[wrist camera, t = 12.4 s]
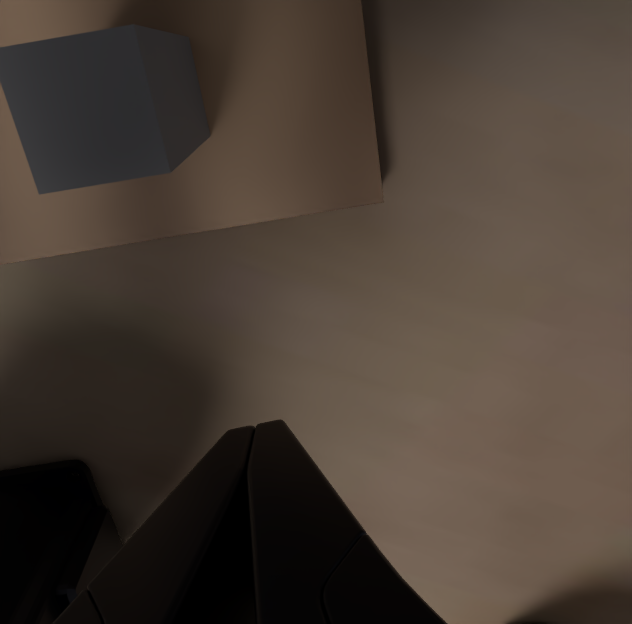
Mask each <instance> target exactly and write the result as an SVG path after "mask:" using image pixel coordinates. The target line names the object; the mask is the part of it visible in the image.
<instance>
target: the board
mask: <svg viewBox="0 0 632 624" xmlns="http://www.w3.org/2000/svg"><path fill="white" fill-rule="evenodd" d="M132 24H135V25H139V26H143V27H148V28H152V29H156V30H160V31H165V32H169V33H173V34H178V35H182V36H186V37H189V40H190V45H191V49H192V54H193V58H194V63H195V68H196V72H197V77H198V81H199V86H200V90H201V95H202V99H203V104H204V109H205V113H206V118H207V122H208V127H209V131H210V137H209V138H208V139H207V140H206V141H205V142H204V143H203V144H202V145H201V146H199V147H198V148H197V149H196V150H195V151H194V152H193V153H192V154H191V155H190V156H189V157H187V158H186V159H185V160H184V161H183V162H182V163H181V164H180V165H179V166H178V167H177V168H176V169H174V170H173V171H172V172H171V173H167V174H161V175H155V176H149V177H143V178H137V179H130V180H124V181H118V182H112V183H106V184H100V185H94V186H88V187H82V188H76V189H70V190H64V191H58V192H52V193H46V194H40V195H39V193H38V190H37V187H36V184H35V182H34V179H33V176H32V173H31V170H30V167H29V164H28V161H27V158H26V155H25V152H24V150H23V147H22V144H21V141H20V138H19V135H18V132H17V129H16V126H15V123H14V120H13V118H12V115H11V112H10V109H9V106H8V103H7V100H6V97H5V94H4V91H3V88H2V86H1V83H0V265H2V264H8V263H14V262H21V261H27V260H33V259H39V258H45V257H51V256H57V255H63V254H70V253H76V252H82V251H88V250H94V249H100V248H106V247H112V246H119V245H125V244H131V243H137V242H143V241H149V240H155V239H161V238H168V237H174V236H180V235H186V234H192V233H198V232H204V231H211V230H217V229H223V228H229V227H235V226H241V225H247V224H253V223H260V222H266V221H272V220H278V219H284V218H290V217H296V216H302V215H309V214H315V213H321V212H327V211H333V210H339V209H345V208H351V207H358V206H364V205H370V204H376V203H382V202H384V200H383V191H382V182H381V173H380V164H379V155H378V146H377V137H376V128H375V119H374V110H373V101H372V92H371V83H370V74H369V65H368V56H367V47H366V39H365V30H364V21H363V12H362V3H361V0H0V47H5V46H11V45H17V44H22V43H28V42H34V41H40V40H46V39H51V38H57V37H63V36H69V35H74V34H80V33H86V32H92V31H97V30H103V29H109V28H115V27H121V26H126V25H132Z"/></svg>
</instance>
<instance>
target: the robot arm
mask: <svg viewBox="0 0 632 624" xmlns="http://www.w3.org/2000/svg"><path fill="white" fill-rule="evenodd" d="M71 472H76V473H78V475H79V476H75V475H73V474H72V473H71ZM0 624H447V623H446V622H445V621H444V620H443V619H442V618H441V617H440V616H439V615H438V614H437V613H436V612H435V611H434V610H433V609H432V608H431V607H430V606H429V605H428V604H427V603H426V602H425V601H424V600H423V599H422V598H421V597H420V596H419V595H418V594H417V593H416V592H415V591H414V590H413V589H412V588H411V587H410V586H409V584H408V583H407V582H406V581H405V580H404V579H403V578H402V577H401V576H400V575H399V573H398V572H397V571H396V570H395V568H394V567H393V566H392V565H391V563H390V562H389V561H388V560H387V559H386V557H385V556H384V555H383V554H382V552H381V551H380V550H379V548H378V547H377V546H376V544H375V543H374V542H373V540H372V539H371V538H370V536H369V535H367V533H366V531H365V530H364V529H363V527H362V526H361V525H360V523H359V522H358V521H357V519H356V518H355V516H354V515H353V514H352V512H351V511H350V510H349V508H348V507H347V506H346V504H345V503H344V502H343V500H342V499H341V498H340V496H339V495H338V493H337V492H336V491H335V489H334V488H333V487H332V485H331V484H330V483H329V481H328V480H327V479H326V477H325V476H324V475H323V473H322V472H321V471H320V469H319V468H318V466H317V465H316V464H315V462H314V461H313V460H312V458H311V457H310V456H309V454H308V453H307V452H306V450H305V449H304V448H303V446H302V445H301V443H300V442H299V441H298V439H297V438H296V437H295V435H294V434H293V433H292V431H291V430H290V429H289V427H288V426H287V425H286V423H285V422H284V421H283V420H274V421H269V422H265V423H260V424H258V425H257V426H256V428H255V427H254V426H245V427H240V428H235V429H230V430H228V431H227V432H226V433H225V434H224V435H223V436H222V437H221V438H220V439H219V440H218V442H217V443H216V444H215V445H214V446H213V447H212V448H211V449H210V450H209V452H208V453H207V454H206V455H205V456H204V457H203V458H202V459H201V460H200V461H199V463H198V464H197V465H196V466H195V467H194V468H193V469H192V470H191V471H190V472H189V474H188V475H187V476H186V477H185V478H184V479H183V480H182V481H181V482H180V484H179V485H178V486H177V487H176V488H175V489H174V490H173V491H172V492H171V493H170V495H169V496H168V497H167V498H166V499H165V500H164V501H163V502H162V503H161V504H160V506H159V507H158V508H157V509H156V510H155V511H154V512H153V513H152V514H151V516H150V517H149V518H148V519H147V520H146V521H145V522H144V523H143V524H142V525H141V527H140V528H139V529H138V530H137V531H136V532H135V533H134V534H133V535H132V536H131V538H130V539H129V540H128V541H127V542H126V543H125V544H124V545H123V546H122V543H121V541H120V538H119V535H118V533H117V530H116V527H115V525H114V522H113V520H112V517H111V514H110V512H109V510H108V509H107V508H106V507H105V506H103V504H102V501H101V498H100V496H99V493H98V490H97V488H96V485H95V482H94V480H93V477H92V475H91V472H90V469H89V467H88V466H87V464H85V463H84V462H82V461H79V460H69V461H62V462H56V463H49V464H43V465H36V466H30V467H23V468H17V469H10V470H4V471H0Z"/></svg>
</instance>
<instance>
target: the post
mask: <svg viewBox="0 0 632 624" xmlns="http://www.w3.org/2000/svg"><path fill="white" fill-rule="evenodd" d="M0 83H1V86H2V88H3V91H4V94H5V97H6V100H7V103H8V106H9V109H10V112H11V115H12V118H13V120H14V123H15V126H16V129H17V132H18V135H19V138H20V141H21V144H22V147H23V150H24V152H25V155H26V158H27V161H28V164H29V167H30V170H31V173H32V176H33V179H34V182H35V184H36V187H37V190H38V193H39V195H40V194H46V193H52V192H58V191H64V190H70V189H76V188H82V187H88V186H94V185H100V184H106V183H112V182H118V181H124V180H130V179H137V178H143V177H149V176H155V175H161V174H167V173H171V172H172V171H173V170H174V169H176V168H177V167H178V166H179V165H180V164H181V163H182V162H183V161H184V160H185V159H186V158H187V157H189V156H190V155H191V154H192V153H193V152H194V151H195V150H196V149H197V148H198V147H199V146H201V145H202V144H203V143H204V142H205V141H206V140H207V139H208V138H209V137H210V131H209V127H208V122H207V118H206V113H205V109H204V104H203V99H202V95H201V90H200V86H199V81H198V77H197V72H196V68H195V63H194V58H193V54H192V49H191V45H190V40H189V37H186V36H182V35H178V34H173V33H169V32H165V31H160V30H156V29H152V28H148V27H143V26H139V25H135V24H132V25H126V26H121V27H115V28H109V29H103V30H97V31H92V32H86V33H80V34H74V35H69V36H63V37H57V38H51V39H46V40H40V41H34V42H28V43H22V44H17V45H11V46H5V47H0Z"/></svg>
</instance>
